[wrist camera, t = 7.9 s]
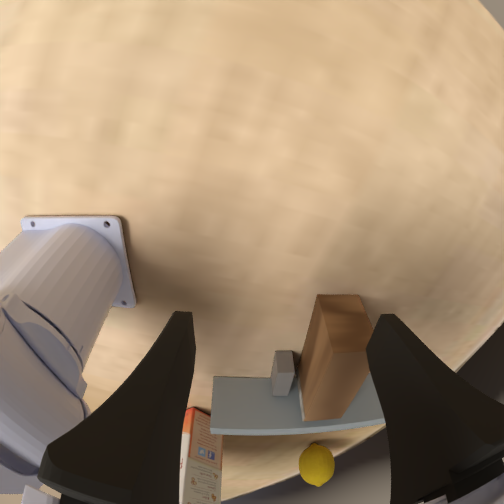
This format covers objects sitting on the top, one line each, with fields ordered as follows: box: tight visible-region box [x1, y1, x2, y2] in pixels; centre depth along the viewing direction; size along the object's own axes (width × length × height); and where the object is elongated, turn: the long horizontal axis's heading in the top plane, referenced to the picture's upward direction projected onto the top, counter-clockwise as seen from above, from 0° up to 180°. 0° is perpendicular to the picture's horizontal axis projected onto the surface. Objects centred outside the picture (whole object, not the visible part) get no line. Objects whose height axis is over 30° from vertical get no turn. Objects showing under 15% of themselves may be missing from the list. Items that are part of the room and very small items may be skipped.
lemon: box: [299, 443, 334, 486], centre depth 36 cm, size 6×6×8 cm
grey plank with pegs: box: [210, 351, 385, 435], centre depth 25 cm, size 20×6×6 cm, turn 87°
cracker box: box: [179, 407, 223, 504], centre depth 26 cm, size 14×6×21 cm, turn 130°
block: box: [296, 294, 373, 421], centre depth 23 cm, size 4×10×6 cm, turn 177°
